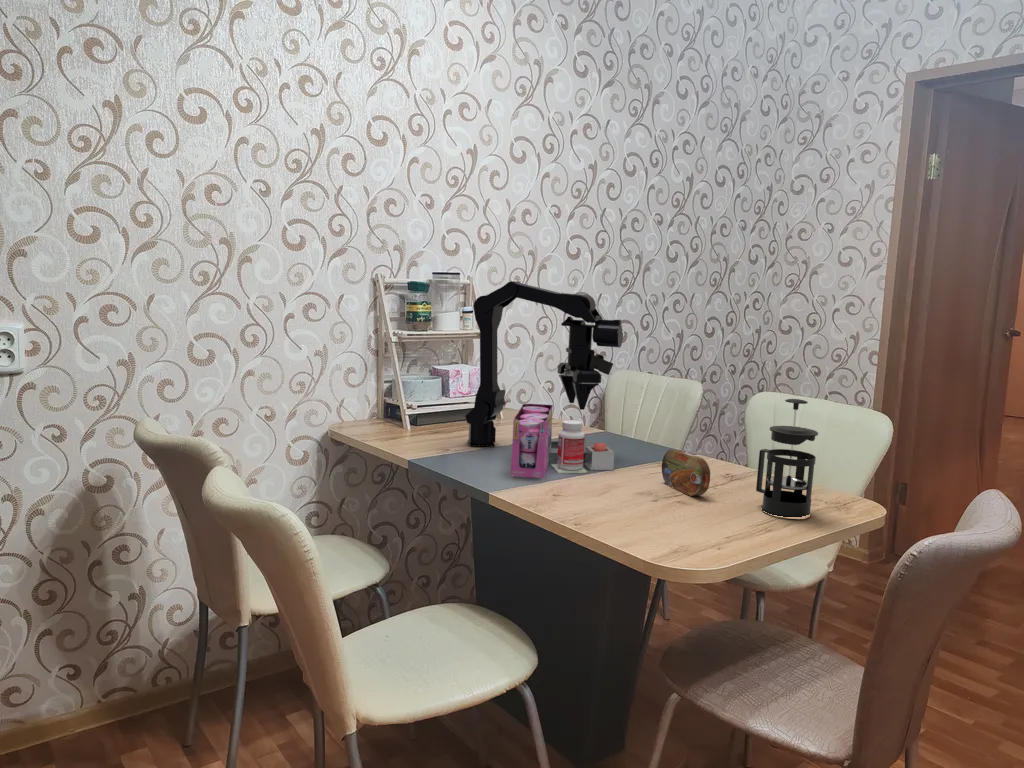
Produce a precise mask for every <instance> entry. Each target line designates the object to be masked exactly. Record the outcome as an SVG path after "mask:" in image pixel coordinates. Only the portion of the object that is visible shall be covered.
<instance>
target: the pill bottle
mask: <svg viewBox="0 0 1024 768" xmlns="http://www.w3.org/2000/svg"><path fill="white" fill-rule="evenodd" d="M561 428H562V430H560V431H559V433H558V440H557V441H558V460H557V463H556V464H557V466H558V467H559V468H561V469H565V470H579V469H582V468H584V463H583V460H584V441H586V440H585V439H586V437H585V435H586V434H585V433H584V432H583V430H582V429H583V422H582V421H580V420H573V419H572V420H570V419H569V420H566V419H565V420H563V421H562V425H561Z"/></svg>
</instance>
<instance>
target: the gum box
mask: <svg viewBox="0 0 1024 768" xmlns="http://www.w3.org/2000/svg"><path fill="white" fill-rule="evenodd" d="M553 407H554V405H553V404H539V403H522V405H521V407H520V408H519V410H518V412H517V413H516V415H515V416H514V418H513V426H512V427H513V428H512V445H511V446H512V447H511V459H510V460H511V461H510V462H511V463H510V476H511V475H513V476H512V477H517V476H523V477H522V478H530V477H538V478H537V479H544V478H545V476H544V475H546V473H547V470H548V467H547V466H549V464H550V463H549V452H550V449H551V441H552V435H553V434H552V433H553V409H554V408H553ZM548 463H549V464H548ZM546 469H547V470H546ZM545 472H546V473H545Z"/></svg>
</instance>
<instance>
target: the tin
mask: <svg viewBox="0 0 1024 768" xmlns="http://www.w3.org/2000/svg"><path fill="white" fill-rule="evenodd" d="M661 474H662V475H661V476H662V479H663V480H664V482H665V484H666V485H667V486H668V485H669V486H668V487H670V486H671V487H670V488H672V487H673V488H672V489H674V488H675V489H674V490H676V489H677V490H676V491H678V490H679V491H678V492H680V491H681V492H680V493H682V492H683V493H682V494H684V493H685V495H686V494H687V495H686V496H688V495H689V496H690V497H693V496H701V495H704V494H705V493H707V491H708V489H709V487H710V483H711V482H710V481H711V469H710V465H709V464H708V463H707V460H705V459H704V458H702V457H700V456H697V455H695V454H692V453H689V452H687V451H684V450H681V449H669V450H667V451H666V452H665V453H664V456H663V458H662V461H661Z"/></svg>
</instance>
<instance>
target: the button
mask: <svg viewBox="0 0 1024 768" xmlns="http://www.w3.org/2000/svg"><path fill="white" fill-rule="evenodd" d="M593 444H594V451H606V446H607V443H604V442H594V443H593Z"/></svg>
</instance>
